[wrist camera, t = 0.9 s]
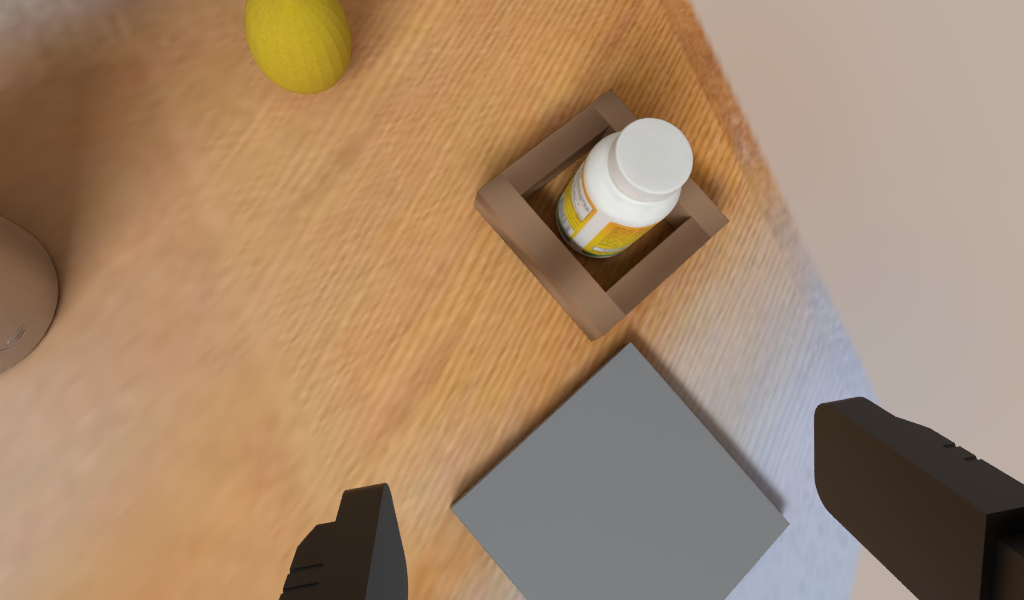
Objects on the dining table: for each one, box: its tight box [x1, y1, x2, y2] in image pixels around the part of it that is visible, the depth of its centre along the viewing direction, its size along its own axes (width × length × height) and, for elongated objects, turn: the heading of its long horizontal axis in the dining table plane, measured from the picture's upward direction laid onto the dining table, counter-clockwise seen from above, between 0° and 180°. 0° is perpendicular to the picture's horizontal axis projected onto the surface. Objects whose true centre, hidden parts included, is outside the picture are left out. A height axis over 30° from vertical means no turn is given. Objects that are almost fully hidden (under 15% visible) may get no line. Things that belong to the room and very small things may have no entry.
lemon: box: [244, 0, 352, 94], centre depth 34 cm, size 6×6×8 cm
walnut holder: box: [474, 89, 729, 341], centre depth 38 cm, size 11×11×2 cm
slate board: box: [450, 342, 789, 600], centre depth 35 cm, size 14×14×1 cm
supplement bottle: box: [556, 118, 693, 258], centre depth 34 cm, size 5×5×10 cm
